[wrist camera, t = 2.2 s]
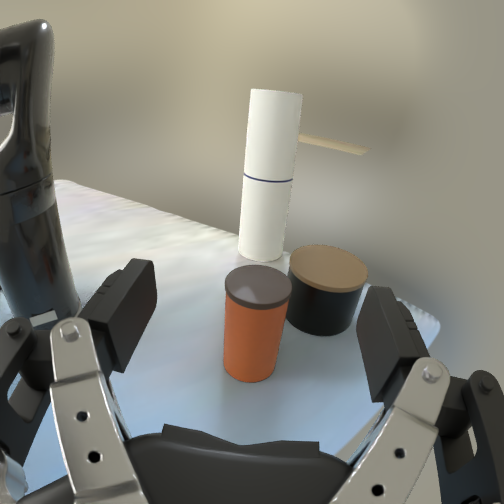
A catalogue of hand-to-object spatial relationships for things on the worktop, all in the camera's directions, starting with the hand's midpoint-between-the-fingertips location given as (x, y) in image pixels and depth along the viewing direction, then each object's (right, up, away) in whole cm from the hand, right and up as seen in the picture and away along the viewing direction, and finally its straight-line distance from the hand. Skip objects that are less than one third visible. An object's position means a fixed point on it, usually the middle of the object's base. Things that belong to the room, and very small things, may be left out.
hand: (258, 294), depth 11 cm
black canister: (+8, -6, +26) cm, 28 cm away
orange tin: (0, -10, +18) cm, 21 cm away
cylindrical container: (+1, +2, +39) cm, 39 cm away
